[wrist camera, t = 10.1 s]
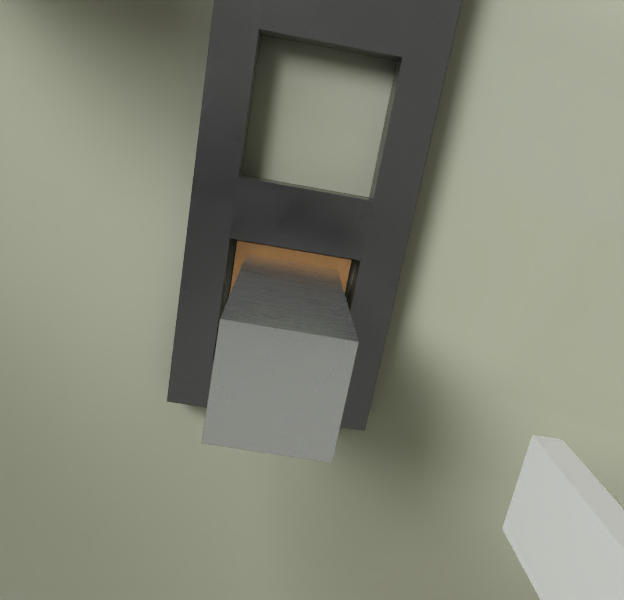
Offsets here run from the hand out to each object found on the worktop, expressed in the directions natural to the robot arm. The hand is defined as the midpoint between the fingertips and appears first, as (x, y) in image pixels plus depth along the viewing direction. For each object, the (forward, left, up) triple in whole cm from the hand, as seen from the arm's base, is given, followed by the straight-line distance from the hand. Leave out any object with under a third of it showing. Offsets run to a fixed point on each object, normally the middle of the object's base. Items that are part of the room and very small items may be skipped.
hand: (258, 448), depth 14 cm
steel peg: (0, 0, -12) cm, 12 cm away
